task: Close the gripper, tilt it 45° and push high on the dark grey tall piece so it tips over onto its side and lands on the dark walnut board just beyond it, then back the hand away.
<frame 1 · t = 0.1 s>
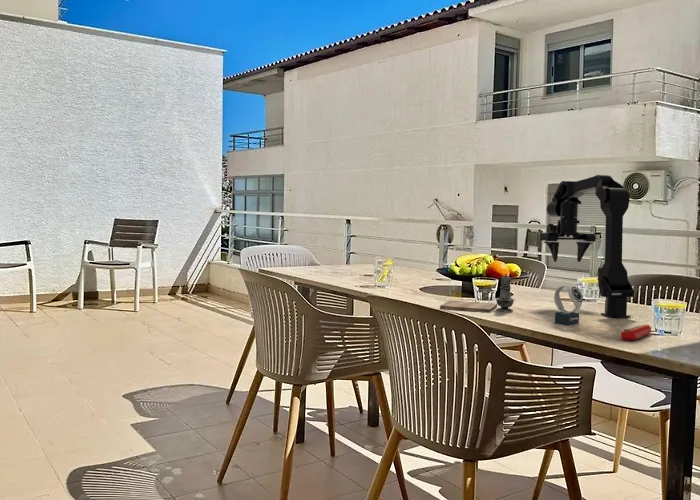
hand: (566, 261, 232), 15 cm above the table, tool pointing down, fingers open, 9 cm apart
dark grey tall piece: (504, 311, 213), on the table
watch: (567, 324, 191), on the table
walnut board: (469, 307, 217), on the table
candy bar: (636, 339, 172), on the table
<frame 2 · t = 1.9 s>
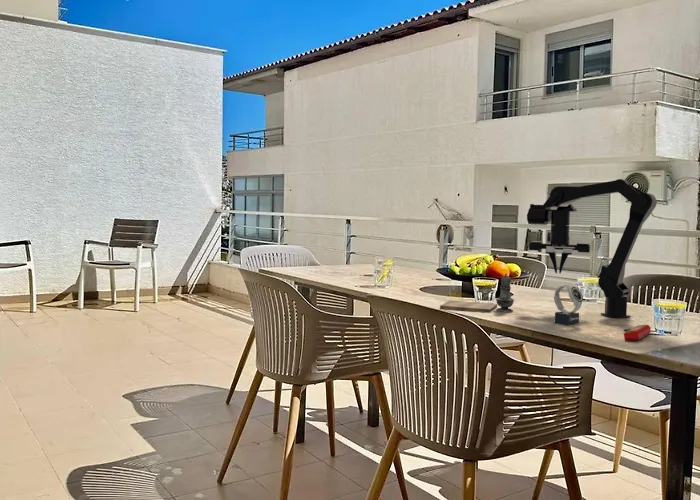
hand: (558, 273, 216), 12 cm above the table, tool pointing down, fingers closed
nothing on the table moved.
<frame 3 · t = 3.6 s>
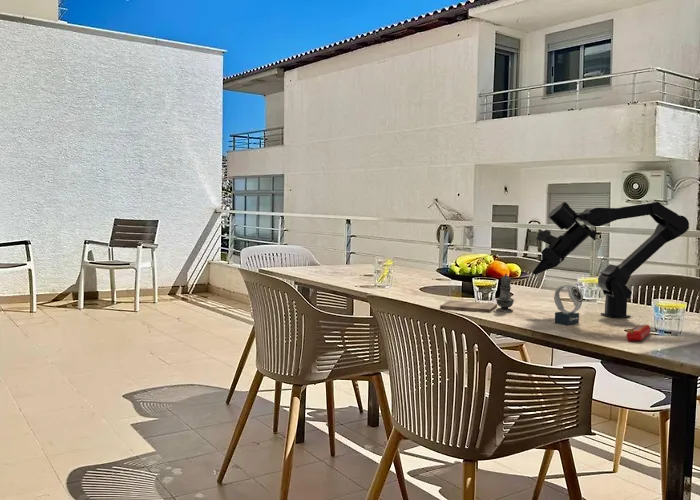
hand: (533, 273, 210), 12 cm above the table, tool tilted 45°, fingers closed
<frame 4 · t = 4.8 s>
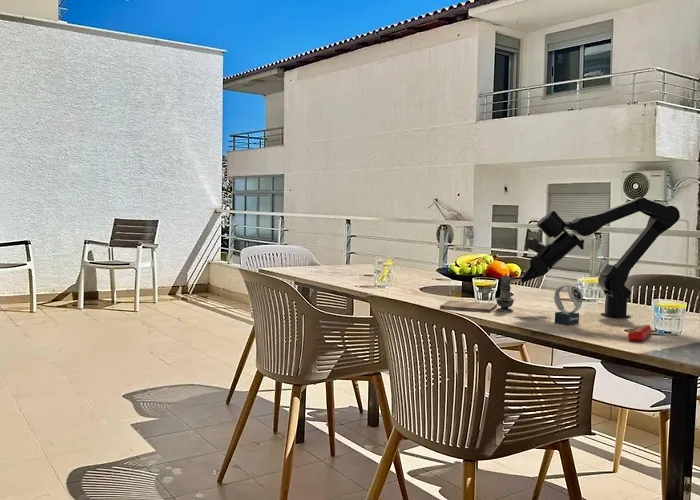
hand: (521, 281, 211), 10 cm above the table, tool tilted 45°, fingers closed
nothing on the table moved.
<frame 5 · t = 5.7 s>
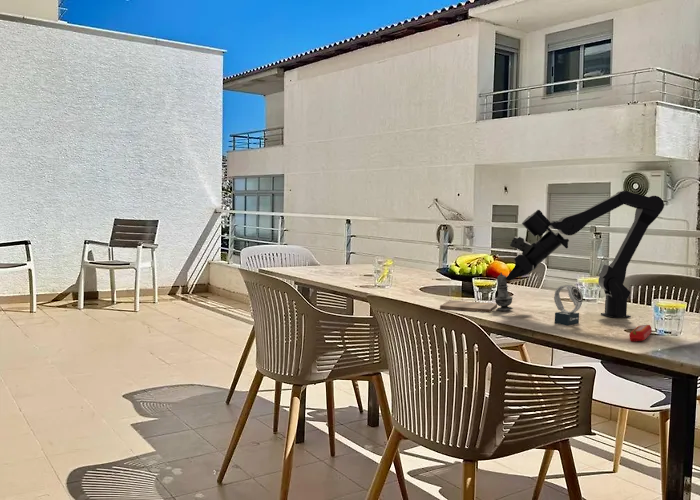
hand: (506, 279, 212), 10 cm above the table, tool tilted 45°, fingers closed
dark grey tall piece: (504, 309, 213), on the table, touching gripper
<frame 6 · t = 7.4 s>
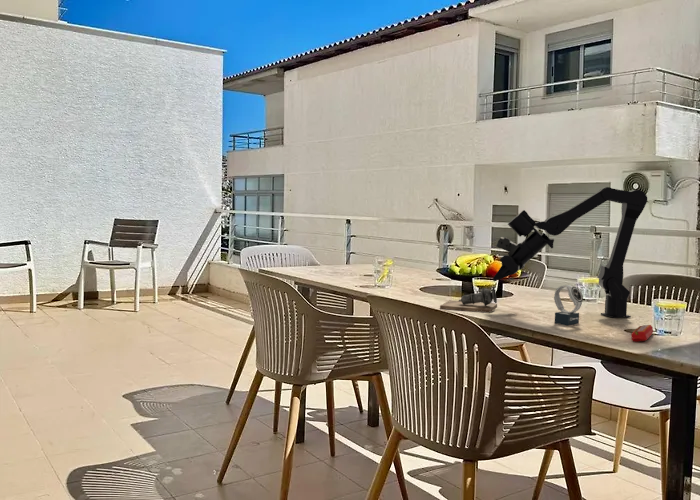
hand: (493, 280, 214), 10 cm above the table, tool tilted 45°, fingers closed
dark grey tall piece: (495, 295, 214), point 5 cm above the table, touching walnut board
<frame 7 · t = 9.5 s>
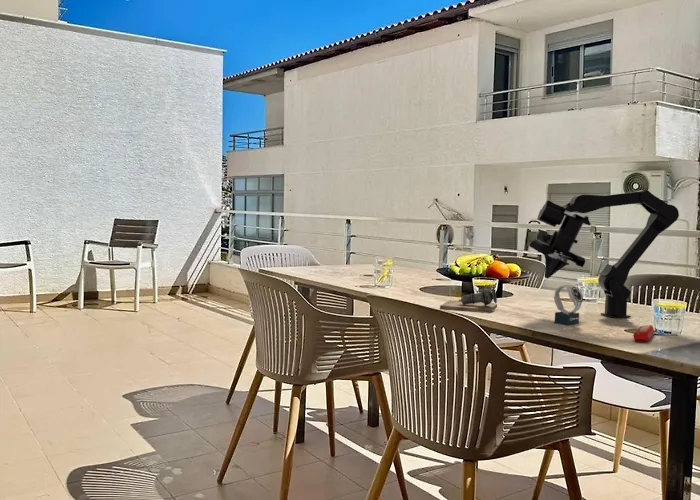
hand: (546, 277, 209), 11 cm above the table, tool tilted 25°, fingers closed
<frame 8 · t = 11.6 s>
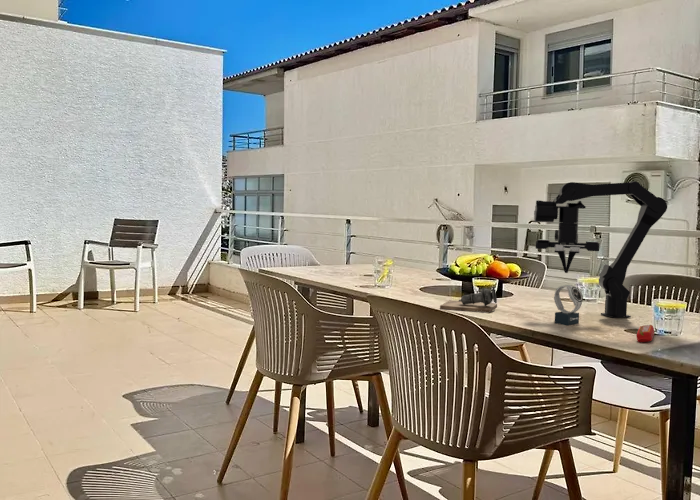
hand: (566, 272, 208), 13 cm above the table, tool pointing down, fingers closed
at the end: dark grey tall piece tilted 103°; dark grey tall piece touching walnut board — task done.
